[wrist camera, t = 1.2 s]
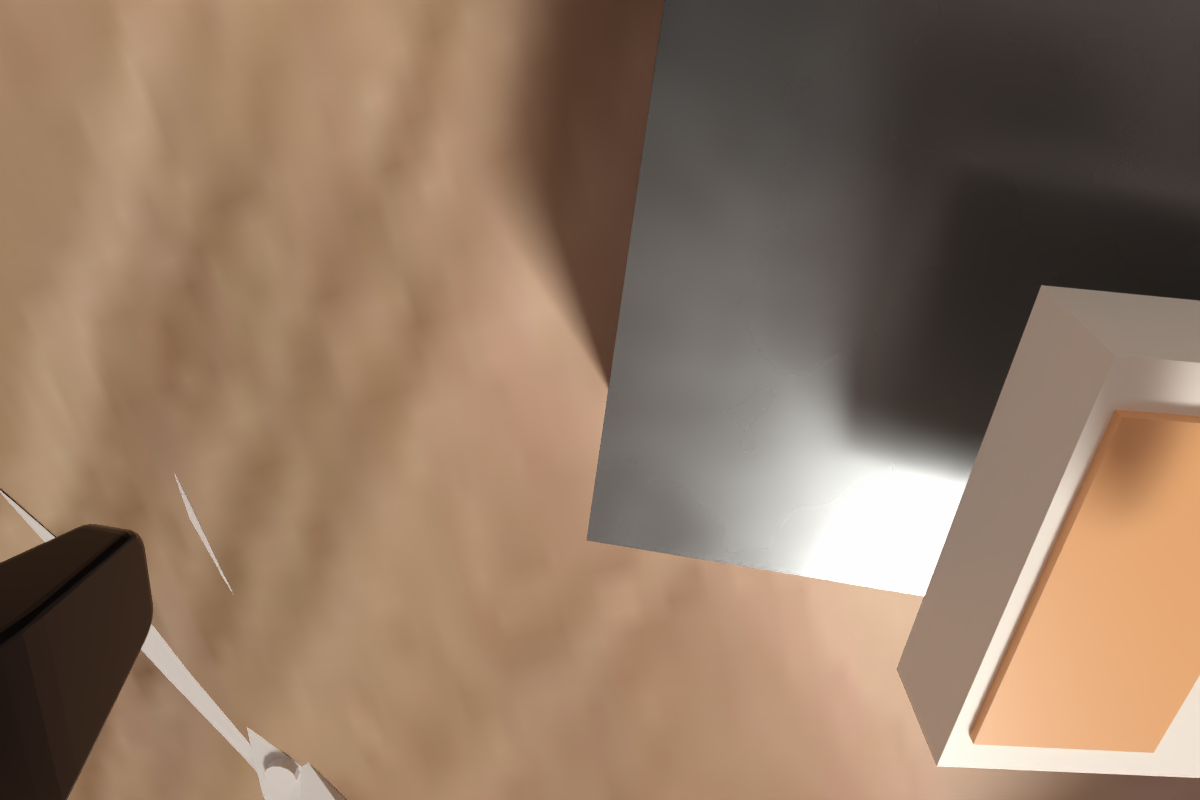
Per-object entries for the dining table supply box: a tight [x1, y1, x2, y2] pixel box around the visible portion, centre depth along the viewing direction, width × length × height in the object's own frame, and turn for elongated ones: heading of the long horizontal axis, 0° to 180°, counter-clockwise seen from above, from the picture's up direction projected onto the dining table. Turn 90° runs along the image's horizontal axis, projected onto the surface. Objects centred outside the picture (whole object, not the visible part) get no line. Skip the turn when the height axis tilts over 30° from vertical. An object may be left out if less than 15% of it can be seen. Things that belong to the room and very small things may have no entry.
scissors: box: [0, 473, 346, 800], centre depth 24 cm, size 11×1×20 cm
